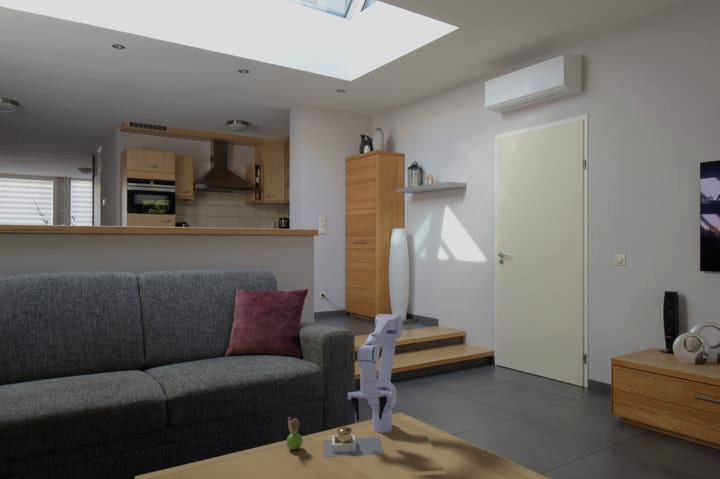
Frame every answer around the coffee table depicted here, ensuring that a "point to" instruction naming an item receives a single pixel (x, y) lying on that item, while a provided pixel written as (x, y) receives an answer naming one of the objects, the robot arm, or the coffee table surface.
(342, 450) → the fitting board
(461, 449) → the coffee table surface
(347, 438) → the brass door knob
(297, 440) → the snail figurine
